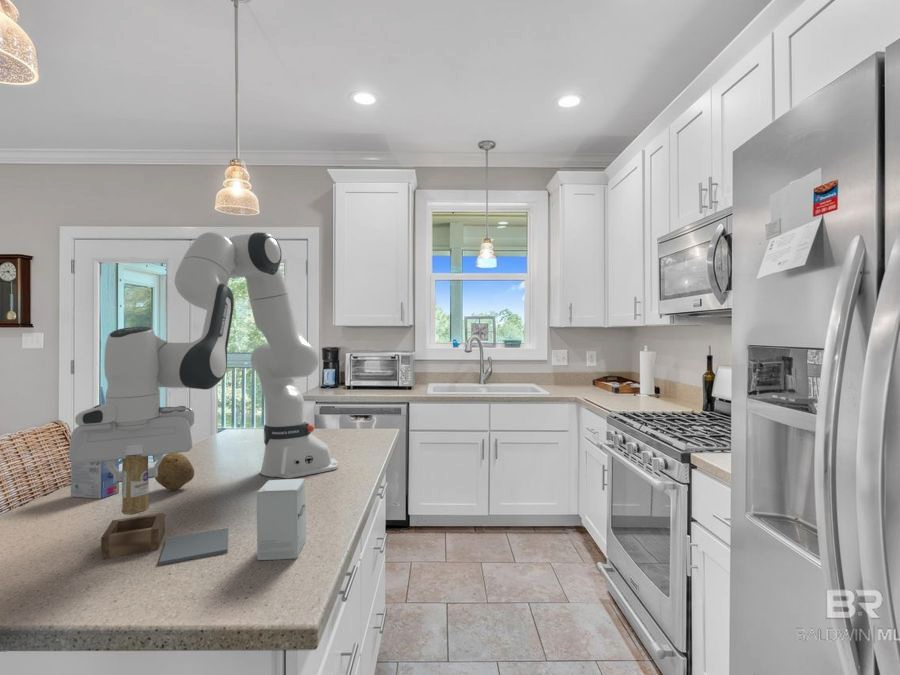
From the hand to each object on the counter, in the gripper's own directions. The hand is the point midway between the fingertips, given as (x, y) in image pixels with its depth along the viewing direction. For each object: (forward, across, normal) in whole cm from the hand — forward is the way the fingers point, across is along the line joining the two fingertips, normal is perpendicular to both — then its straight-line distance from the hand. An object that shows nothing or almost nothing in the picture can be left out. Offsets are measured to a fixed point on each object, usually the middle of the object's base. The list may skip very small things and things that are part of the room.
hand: (136, 479), depth 92 cm
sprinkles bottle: (+6, 0, 0) cm, 6 cm away
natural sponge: (+13, -3, -35) cm, 37 cm away
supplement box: (+13, -26, +16) cm, 33 cm away
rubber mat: (+13, -10, +7) cm, 18 cm away
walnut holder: (+13, 0, 0) cm, 13 cm away
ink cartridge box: (+13, +15, -40) cm, 45 cm away
